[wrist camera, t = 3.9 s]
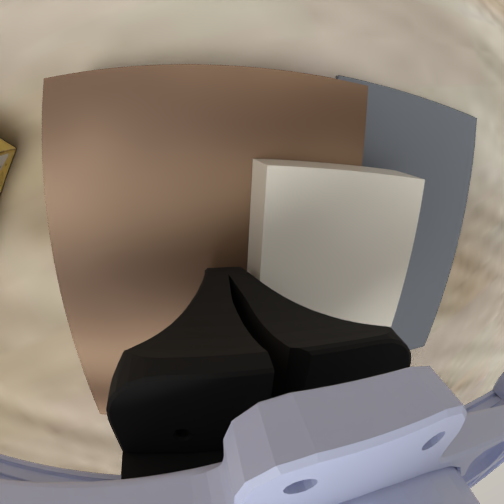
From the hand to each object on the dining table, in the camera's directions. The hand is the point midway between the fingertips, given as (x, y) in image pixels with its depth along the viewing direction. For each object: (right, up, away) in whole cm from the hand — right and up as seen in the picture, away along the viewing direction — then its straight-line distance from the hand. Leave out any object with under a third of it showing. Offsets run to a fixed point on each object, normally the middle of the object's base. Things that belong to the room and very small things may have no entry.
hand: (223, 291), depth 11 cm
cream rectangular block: (+4, +1, +1) cm, 4 cm away
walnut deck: (-2, +2, +4) cm, 5 cm away
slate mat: (+10, +2, +7) cm, 12 cm away
